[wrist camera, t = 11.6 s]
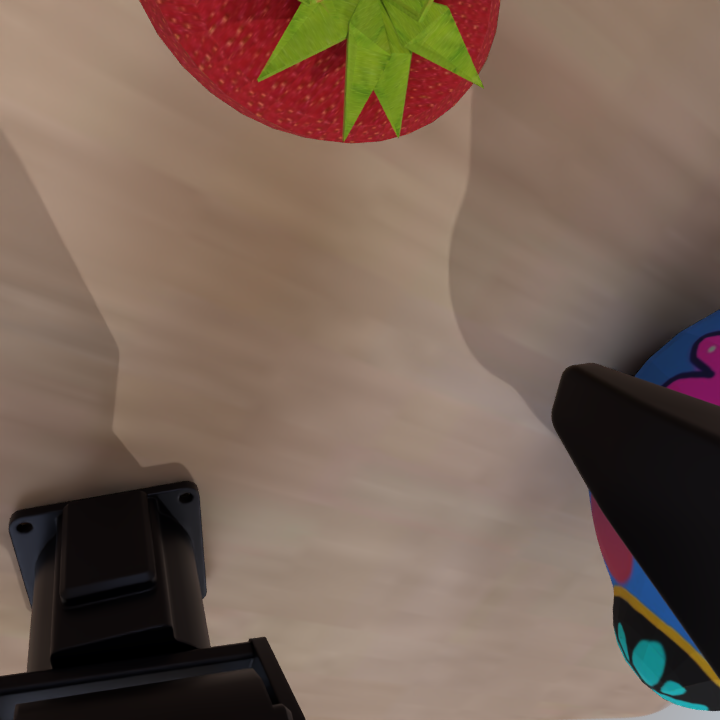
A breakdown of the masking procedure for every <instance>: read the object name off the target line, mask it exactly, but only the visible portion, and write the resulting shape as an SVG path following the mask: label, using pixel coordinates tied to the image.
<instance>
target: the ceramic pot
mask: <svg viewBox="0 0 720 720" xmlns="http://www.w3.org/2000/svg"><path fill="white" fill-rule="evenodd" d="M634 377H637V378H639V379H642V380H645V381H648V382H651V383H654V384H657V385H660V386H663V387H666V388H669V389H671V390H674V391H677V392H680V393H683V394H686V395H689V396H692V397H695V398H698V399H701V400H703V401H706V402H709V403H712V404H715V405H718V406H720V310H718V311H716V312H714V313H713V314H711V315H709V316H707V317H706V318H704V319H702V320H700V321H699V322H697V323H695V324H693V325H692V326H690V327H688V328H686V329H685V330H683V331H681V332H679V333H678V334H677V335H676V336H675V337H674V338H672V339H671V340H670V341H669V342H668V343H667V344H665V345H664V346H663V347H662V348H661V349H660V350H658V351H657V352H656V353H655V354H654V355H653V356H651V357H650V358H649V359H648V360H647V362H646V363H645V364H644V365H643V366H642V368H641V369H640V370H639V371H638V373H637V374H636V375H635V376H634ZM589 496H590V503H591V510H592V516H593V521H594V526H595V531H596V535H597V539H598V542H599V546H600V549H601V552H602V556H603V559H604V562H605V564H606V567H607V570H608V572H609V575H610V578H611V581H612V584H613V588H614V604H613V626H614V631H615V635H616V640H617V643H618V646H619V648H620V650H621V652H622V654H623V656H624V658H625V660H626V662H627V663H628V664H629V666H630V667H631V668H632V669H633V671H634V672H635V673H636V675H637V676H638V677H639V678H640V680H641V681H642V682H643V683H644V684H645V685H647V686H648V687H649V688H651V689H652V690H653V691H654V692H656V693H657V694H658V695H659V696H661V697H662V698H663V699H665V700H667V701H670V702H672V703H674V704H676V705H680V706H683V707H687V708H691V709H696V710H707V711H720V680H719V678H718V677H717V675H716V674H715V672H714V671H713V670H712V668H711V667H710V665H709V664H708V662H707V661H706V660H705V658H704V657H703V655H702V654H701V652H700V651H699V650H698V648H697V647H696V645H695V644H694V643H693V641H692V640H691V638H690V637H689V635H688V634H687V633H686V631H685V630H684V628H683V627H682V625H681V624H680V623H679V621H678V620H677V618H676V617H675V615H674V614H673V613H672V611H671V610H670V608H669V607H668V605H667V604H666V603H665V601H664V600H663V598H662V597H661V596H660V594H659V593H658V591H657V590H656V588H655V587H654V586H653V584H652V583H651V581H650V580H649V578H648V577H647V576H646V574H645V573H644V571H643V570H642V568H641V567H640V566H639V564H638V563H637V561H636V560H635V559H634V557H633V556H632V554H631V553H630V551H629V550H628V549H627V547H626V546H625V544H624V543H623V541H622V540H621V539H620V537H619V536H618V534H617V533H616V531H615V530H614V529H613V527H612V526H611V524H610V523H609V521H608V520H607V518H606V517H605V515H604V514H603V512H602V511H601V509H600V507H599V506H598V504H597V502H596V501H595V499H594V497H593V496H592V494H591V492H590V490H589Z"/></svg>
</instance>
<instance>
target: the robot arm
mask: <svg viewBox="0 0 720 720" xmlns="http://www.w3.org/2000/svg"><path fill="white" fill-rule="evenodd" d="M551 417H552V423H553V426H554V428H555V430H556V432H557V434H558V436H559V437H560V439H561V441H562V443H563V445H564V446H565V448H566V450H567V452H568V453H569V455H570V457H571V459H572V460H573V462H574V464H575V466H576V467H577V469H578V471H579V473H580V475H581V476H582V478H583V480H584V482H585V483H586V485H587V487H588V489H589V490H590V492H591V494H592V496H593V497H594V499H595V501H596V502H597V504H598V506H599V507H600V509H601V511H602V512H603V514H604V515H605V517H606V518H607V520H608V521H609V523H610V524H611V526H612V527H613V529H614V530H615V531H616V533H617V534H618V536H619V537H620V539H621V540H622V541H623V543H624V544H625V546H626V547H627V549H628V550H629V551H630V553H631V554H632V556H633V557H634V559H635V560H636V561H637V563H638V564H639V566H640V567H641V568H642V570H643V571H644V573H645V574H646V576H647V577H648V578H649V580H650V581H651V583H652V584H653V586H654V587H655V588H656V590H657V591H658V593H659V594H660V596H661V597H662V598H663V600H664V601H665V603H666V604H667V605H668V607H669V608H670V610H671V611H672V613H673V614H674V615H675V617H676V618H677V620H678V621H679V623H680V624H681V625H682V627H683V628H684V630H685V631H686V633H687V634H688V635H689V637H690V638H691V640H692V641H693V643H694V644H695V645H696V647H697V648H698V650H699V651H700V652H701V654H702V655H703V657H704V658H705V660H706V661H707V662H708V664H709V665H710V667H711V668H712V670H713V671H714V672H715V674H716V675H717V677H718V678H719V680H720V406H718V405H715V404H712V403H709V402H706V401H703V400H701V399H698V398H695V397H692V396H689V395H686V394H683V393H680V392H677V391H674V390H671V389H669V388H666V387H663V386H660V385H657V384H654V383H651V382H648V381H645V380H642V379H639V378H637V377H634V376H631V375H628V374H625V373H622V372H619V371H616V370H613V369H610V368H607V367H604V366H602V365H599V364H595V363H585V364H579V365H572V366H569V367H568V368H566V369H565V371H564V372H563V374H562V376H561V380H560V383H559V387H558V390H557V394H556V397H555V401H554V405H553V408H552V416H551ZM185 493H190V494H189V495H187V496H181V495H182V494H185ZM24 522H28V523H30V524H29V525H21V523H24ZM9 533H10V537H11V540H12V544H13V547H14V550H15V554H16V557H17V561H18V564H19V567H20V571H21V574H22V577H23V581H24V584H25V588H26V591H27V594H28V598H29V601H30V605H31V608H32V615H31V627H30V639H29V651H28V663H27V672H26V673H19V674H11V675H4V676H0V720H305V717H304V715H303V713H302V711H301V709H300V707H299V705H298V703H297V701H296V699H295V696H294V694H293V692H292V690H291V688H290V686H289V684H288V682H287V680H286V678H285V676H284V674H283V672H282V670H281V668H280V666H279V664H278V661H277V659H276V657H275V655H274V653H273V651H272V649H271V647H270V645H269V643H268V641H267V639H266V637H260V638H252V639H249V641H248V642H244V643H237V644H229V645H222V646H215V647H211V646H210V640H209V635H208V629H207V623H206V618H205V612H204V607H203V601H202V599H203V598H204V597H205V596H206V593H207V589H206V576H205V563H204V550H203V537H202V523H201V510H200V497H199V491H198V488H197V485H196V484H195V483H193V482H190V481H183V482H177V483H171V484H166V485H160V486H154V487H149V488H143V489H137V490H131V491H126V492H120V493H114V494H109V495H103V496H97V497H91V498H86V499H80V500H74V501H68V502H63V503H57V504H51V505H46V506H40V507H34V508H28V509H23V510H20V511H17V512H15V513H14V514H12V516H11V518H10V522H9Z"/></svg>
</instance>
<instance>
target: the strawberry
mask: <svg viewBox="0 0 720 720" xmlns="http://www.w3.org/2000/svg"><path fill="white" fill-rule="evenodd" d="M139 1H140V2H141V4H142V6H143V8H144V10H145V12H146V14H147V15H148V17H149V19H150V21H151V23H152V25H153V26H154V28H155V30H156V32H157V34H158V35H159V37H160V38H161V39H162V40H163V42H164V43H165V44H166V46H167V47H168V48H169V49H170V51H171V52H172V53H173V55H174V56H175V57H176V58H177V60H178V61H179V62H180V64H181V65H182V66H183V67H184V68H185V69H186V70H187V71H188V72H189V73H190V74H191V75H192V76H194V77H195V78H196V79H197V80H198V81H199V82H200V83H201V84H202V85H203V86H204V87H205V88H206V89H207V90H208V91H210V92H211V93H212V94H214V95H215V96H216V97H218V98H219V99H221V100H222V101H224V102H225V103H227V104H228V105H230V106H231V107H233V108H234V109H236V110H237V111H239V112H240V113H242V114H244V115H246V116H248V117H250V118H252V119H254V120H256V121H259V122H261V123H263V124H265V125H267V126H269V127H271V128H274V129H277V130H281V131H284V132H288V133H291V134H294V135H298V136H301V137H305V138H312V139H318V140H326V141H335V142H344V143H362V142H377V141H383V140H387V139H391V138H395V137H398V138H399V136H402V135H406V134H409V133H411V132H413V131H415V130H417V129H419V128H421V127H423V126H426V125H428V124H430V123H432V122H433V121H435V120H436V119H437V118H439V117H440V116H441V115H443V114H444V113H445V112H446V111H448V110H449V109H450V108H452V107H453V106H454V105H455V104H456V103H457V102H458V101H459V100H460V98H461V97H462V96H463V95H464V94H465V93H466V92H467V90H468V89H469V88H470V87H471V86H472V85H473V83H474V84H476V85H478V86H480V87H482V88H484V87H483V85H482V82H481V80H480V78H479V76H478V74H479V72H480V71H481V69H482V67H483V65H484V63H485V62H486V60H487V57H488V54H489V51H490V48H491V45H492V42H493V39H494V36H495V33H496V28H497V21H498V14H499V7H500V0H139Z"/></svg>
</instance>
